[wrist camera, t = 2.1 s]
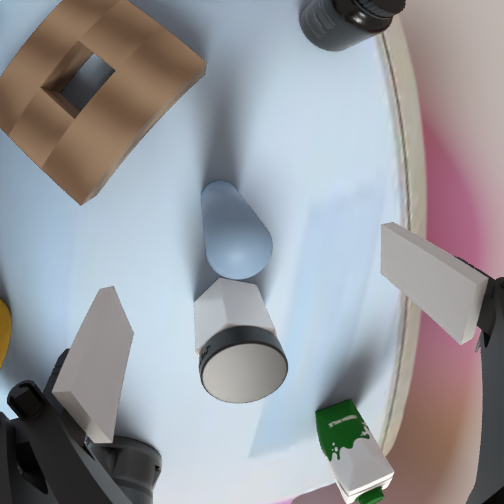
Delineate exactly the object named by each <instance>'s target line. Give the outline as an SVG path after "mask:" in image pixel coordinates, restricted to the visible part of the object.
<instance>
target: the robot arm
mask: <svg viewBox="0 0 504 504" xmlns="http://www.w3.org/2000/svg"><path fill="white" fill-rule="evenodd" d="M381 274H382V275H383V276H384V277H385V278H387V279H388V280H389V281H390V282H391V283H393V284H394V285H395V286H396V287H397V288H398V289H399V290H401V291H402V292H403V293H404V294H405V295H406V296H407V297H409V298H410V299H411V300H412V301H413V302H414V303H415V304H417V305H418V306H419V307H420V308H421V309H422V310H423V311H424V312H425V313H427V314H428V315H429V316H430V317H431V318H432V319H433V320H434V321H435V322H437V323H438V324H439V325H440V326H441V327H442V328H443V329H444V330H445V331H446V332H447V333H448V334H450V336H451V337H453V338H454V339H455V340H456V341H457V342H458V343H459V344H460V345H462V344H464V343H465V342H467V341H469V340H470V339H472V338H473V336H474V333H475V330H476V326H478V327H479V328H480V329H481V330H482V331H481V334H480V337H479V340H478V343H477V346H476V349H475V352H477V351H478V349H479V347H480V346H481V359H482V381H483V412H482V413H483V414H482V433H481V445H480V455H479V463H478V471H477V477H476V482H475V485H474V488H473V490H472V492H471V494H470V495H469V498H468V500H467V502H466V504H504V277H500V278H497V279H496V280H494V279H493V278H491V277H490V276H488V275H487V274H485V273H483V272H482V271H481V270H479V269H477V268H474V266H473V265H471V264H468V262H466V261H464V260H462V259H461V258H459V257H456V256H453V255H451V254H449V253H447V252H446V251H444V250H442V249H441V248H439V247H437V246H435V245H434V244H432V243H430V242H429V241H427V240H425V239H423V238H421V237H420V236H418V235H416V234H414V233H412V232H411V231H409V230H407V229H405V228H403V227H401V226H400V225H398V224H396V223H394V222H391V223H387V224H382V225H381ZM133 335H134V332H133V330H132V328H131V326H130V323H129V321H128V319H127V317H126V314H125V312H124V310H123V307H122V305H121V303H120V300H119V298H118V295H117V293H116V290H115V288H114V286H111V287H107V288H102V289H100V290H99V291H98V293H97V295H96V297H95V299H94V301H93V303H92V305H91V307H90V309H89V311H88V313H87V315H86V317H85V319H84V321H83V323H82V325H81V327H80V329H79V331H78V333H77V335H76V337H75V339H74V341H73V344H72V346H71V348H69V349H66V350H65V351H64V352H63V353H62V354H61V355H60V356H59V358H58V360H57V362H56V364H55V368H54V369H53V371H52V373H51V374H52V375H50V378H49V380H48V382H47V385H46V387H45V389H44V392H43V393H42V392H41V391H40V389H39V388H38V387H37V385H36V384H35V383H34V382H33V381H30V380H27V381H22V382H20V383H18V384H17V385H16V386H14V387H13V388H12V390H11V391H10V392H9V394H8V397H7V404H8V405H9V406H10V408H11V409H12V410H13V411H14V412H15V414H16V415H17V416H18V417H19V418H16V419H12V420H9V419H8V418H7V417H6V416H5V414H4V413H3V412H0V504H153V489H154V487H155V485H156V482H157V480H158V477H159V475H160V473H161V469H162V459H161V457H160V455H159V454H158V453H157V452H156V451H155V450H154V449H153V448H151V447H149V446H148V445H146V444H143V443H141V442H138V441H136V440H132V439H129V438H124V437H118V436H114V429H115V423H116V417H117V411H118V406H119V400H120V395H121V390H122V385H123V380H124V375H125V370H126V366H127V361H128V356H129V352H130V348H131V343H132V339H133ZM86 435H87V436H88V437H89V438H90V439H91V441H90V442H89V443H88V446H87V445H86V444H85V443H84V441H85V436H86Z"/></svg>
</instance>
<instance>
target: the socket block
mask: <svg viewBox="0 0 504 504" xmlns="http://www.w3.org/2000/svg"><path fill="white" fill-rule="evenodd" d="M93 53H95V54H96V55H97V56H98V57H100V58H101V59H102V60H103V61H105V62H106V63H107V64H108V65H109V66H111V67H112V68H113V69H114V70H115V72H114V73H113V74H112V75H111V76H110V77H109V78H108V80H107V81H106V82H105V83H104V84H103V85H102V86H101V88H100V89H99V90H98V91H97V92H96V93H95V95H94V96H93V97H92V98H91V99H90V101H89V102H88V103H87V104H86V106H85V107H84V108H83V109H82V111H80V110H79V109H78V108H76V107H75V106H74V105H73V104H72V103H71V102H70V101H69V100H68V99H66V98H65V97H64V96H63V95H62V94H61V93H60V92H61V91H62V90H63V89H64V87H65V86H66V85H67V84H68V82H69V81H70V80H71V79H72V77H73V76H74V75H75V74H76V73H77V71H78V70H79V69H80V68H81V67H82V66H83V64H84V63H85V62H86V61H87V60H88V59H89V58H90V57H91V56H92V54H93ZM206 64H207V62H205V61H204V60H203V59H202V58H201V57H200V56H198V55H197V54H196V53H195V52H194V51H193V50H191V49H190V48H189V47H188V46H187V45H185V44H184V43H183V42H182V41H181V40H179V39H178V38H177V37H176V36H174V35H173V34H172V33H171V32H169V31H168V30H167V29H165V28H164V27H163V26H162V25H160V24H159V23H158V22H156V21H155V20H154V19H152V18H151V17H150V16H148V15H147V14H146V13H144V12H143V11H142V10H140V9H139V8H137V7H136V6H135V5H133V4H132V3H130V2H129V1H128V0H62V1H61V2H60V3H59V5H58V6H57V7H56V8H55V9H54V10H53V11H52V12H51V13H50V14H49V15H48V16H47V17H46V18H45V20H44V21H43V22H42V23H41V24H40V25H39V26H38V28H37V29H36V30H35V31H34V32H33V34H32V35H31V36H30V37H29V38H28V40H27V41H26V42H25V43H24V45H23V46H22V47H21V49H20V50H19V51H18V53H17V54H16V55H15V57H14V58H13V59H12V61H11V62H10V64H9V65H8V67H7V68H6V69H5V71H4V72H3V74H2V75H1V77H0V128H1V129H2V130H3V131H4V132H5V134H6V135H7V136H8V137H9V138H10V139H11V140H12V141H13V142H14V143H15V144H16V145H17V146H18V147H19V148H20V149H21V150H22V151H23V152H24V153H25V154H26V155H27V156H28V157H29V158H30V159H31V160H32V161H33V162H34V163H35V164H36V165H37V166H38V167H39V168H40V169H41V170H43V171H44V172H45V173H46V174H47V175H48V176H49V177H50V178H51V179H52V180H53V181H54V182H55V183H56V184H57V185H58V186H60V187H61V188H62V189H63V190H64V191H65V192H66V193H67V194H68V195H69V196H70V197H72V198H73V199H74V200H75V201H76V202H77V203H78V204H79V205H80V206H81V205H83V204H84V203H86V202H87V201H89V200H90V199H92V198H93V197H95V196H96V195H97V194H98V193H99V191H100V190H101V189H102V187H103V186H104V185H105V183H106V182H107V181H108V179H109V178H110V177H111V175H112V174H113V173H114V172H115V170H116V169H117V168H118V167H119V165H120V164H121V163H122V162H123V160H124V159H125V158H126V157H127V156H128V154H129V153H130V152H131V151H132V150H133V148H134V147H135V146H136V145H137V144H138V143H139V141H140V140H141V139H142V138H143V137H144V136H145V135H146V133H147V132H148V131H149V130H150V129H151V128H152V127H153V126H154V125H155V123H156V122H157V121H158V120H159V119H160V118H161V117H162V116H163V115H164V114H165V113H166V112H167V111H168V110H169V109H170V108H171V107H172V106H173V105H174V104H175V102H176V101H177V100H178V99H179V98H180V97H181V96H182V95H183V94H185V93H186V92H187V91H188V90H189V89H190V88H191V87H192V86H193V85H194V84H195V83H196V82H197V81H198V80H199V79H200V78H201V77H202V76H203V75H205V71H206Z"/></svg>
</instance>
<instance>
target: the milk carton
mask: <svg viewBox="0 0 504 504" xmlns="http://www.w3.org/2000/svg"><path fill="white" fill-rule="evenodd" d="M315 413H316V424H317V432H318V437H319V442H320V446H321V449H322V451H323V454H324V456H325V458H326V461H327V463H328V465H329V468H330V470H331V472H332V475H333V477H334V479H335V481H336V483H337V485H338V487H339V489H340V492H341V494H342V496H343V498H344V500H345V502H346V504H349V503H352V502H356V501H358V500H359V502H360V504H375V503H377V502H379V501H380V500H382V499H383V498H384V495H383V493H382V489H385V488H387V487H388V485H389V483H390V481H391V480H392V476H393V474H394V471H393V469H392V467H391V466H390V465H389V463H388V461H387V460H386V458H385V456H384V455H383V453H382V451H381V449H380V447H379V446H378V444H377V442H376V440H375V439H374V437H373V435H372V433H371V432H370V430H369V428H368V426H367V425H366V423H365V422H364V420H363V418H362V417H361V415H360V413H359V412H358V410H357V409H356V407H355V405H354V404H353V402H352V401H351V399H350V400H347V401H344V402H342V403H339V404H336V405H334V406H331V407H328V408H325V409H322V410H320V411H317V412H315Z"/></svg>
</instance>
